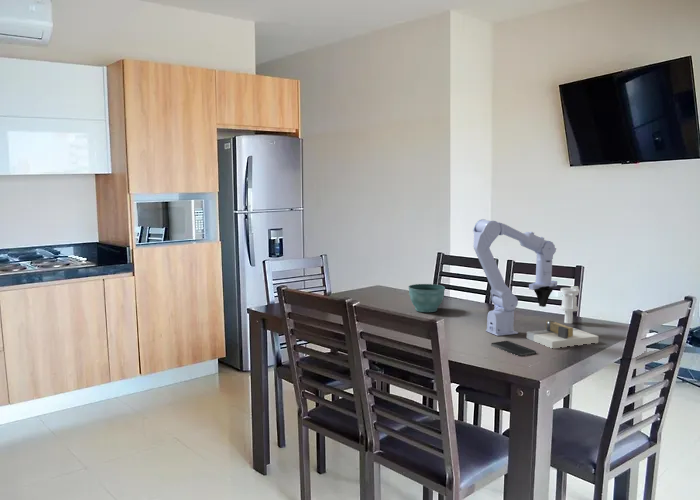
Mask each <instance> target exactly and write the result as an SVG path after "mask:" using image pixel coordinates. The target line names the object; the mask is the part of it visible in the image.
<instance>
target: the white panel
mask: <svg viewBox="0 0 700 500" xmlns="http://www.w3.org/2000/svg"><path fill="white" fill-rule="evenodd" d="M570 327H571V328H573V336H572V337H567V335H568V329H567V328H564V327H561V326H559V327H558V333H556V332H553V331H548V330H547V329H540V330H532V331H531V330H530V331H526V340H530V341H532V342H535V343H537V344H539V343H540V345H542V346H544V345H545V347H547V348H549V347H550V349H552V348H553V349H561V348H560V347H562V348H568V347H567V346H570V347H575V346H574V345H578V346H584V345H583V344H587V345H592V344H591V343H595V344H599V338H600V337H599V335H597V334H593V333H590V332H588V331H587V332H586V331H584V330H581V329H578V328H575V327H572V326H570Z"/></svg>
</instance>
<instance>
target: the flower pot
mask: <svg viewBox="0 0 700 500" xmlns="http://www.w3.org/2000/svg"><path fill="white" fill-rule="evenodd" d="M445 291H446V287H445V286H443V285H440V284H433V283H415V284H411V285H408V294H409V298H410V302H411V303H412V305H413V306H414V308H415V311H417V312H419V313H435V312H437V311H438V308H439V307H440V305H441V304H442V302H443V300H444V297H445Z"/></svg>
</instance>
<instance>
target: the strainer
mask: <svg viewBox="0 0 700 500" xmlns="http://www.w3.org/2000/svg"><path fill="white" fill-rule="evenodd" d="M560 292H561V293H563V294H562V297H561V305H560V306H559V310H561V311H564V321H563V323H564V324H573V318H574V317H573V316H574V314H573V313H574V312H577V311H579V306H577V303H578V298H577V296H579V293H580V288H579V286H578V285H577V286H576V285H575V286H574V285H571V286H570V287H561V288H560Z"/></svg>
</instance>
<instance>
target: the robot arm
mask: <svg viewBox="0 0 700 500" xmlns="http://www.w3.org/2000/svg"><path fill="white" fill-rule="evenodd" d="M472 232H473V249H474V250H473V251H475V254H476V256H477V258H478V262H479V263H480V265H481V268H482V270H483V272H484V274H485V276H486V279H487V281H488V284H489V286H490V288H491V289H490V291H489V293H490V294H491V302H492V304H493V305H494V307H493V308H494V309H493V310H489V311H488V313H487V319H486V321H487V322H486V329H485V332H488V333H490V334H493V335H495V336H497V337H500V336H508V335H517V334H519V332H518V331H516V330H514V326H515V325H514V322H515V320H514V319H515V309H516V308H517V306H518V303H519V300H518V297H517V296H516V295H515V294H514V293H513V292H512V290H511V289H510V288H509V286H508V285H506V282H505V280H504V278H503V276H502V274H501V271H500V268H499V266H498V264H497V262H496V259H495V258H494V255H493V253H492V250H491V245H492V244H493V243H494V242H495V240H496V239H497V238H498V237H499V236H503V235H504V236H506V237H509V238H512V239H513V240H515V241H516V240H517V241H518V242H519V245H520V246H522V247H524V248H526V249H528V250H531V251H532V252H534V253H535V254H536V260H535V261H536V263H535V264H536V265H535V267H536V268H535V282H532V283H528V290H532V291H534V293H535V295H536V298H537V301H538V306H539V307H541V308H545V307H547V303H548V300H549V298H550V295H551V293H552V292H553V290H554V289H553V287H557V286H558V281H557V280H552V275H553V259H554V255H555V253H556V252H557V251H556V250H557V248H556V246H555V244H554V242H553V241H551V240H546V239H545V237H543V236H538V235H537V234H535V232H533V231H525V232H522V231H519V230H517V229H515V228H514V227H512V226H509V225H507V224H505V223H502V222H499V221H496V220H487V219H484V218H482V219H479V220H477V222H476V223H475V225H474V226H473V229H472Z"/></svg>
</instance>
